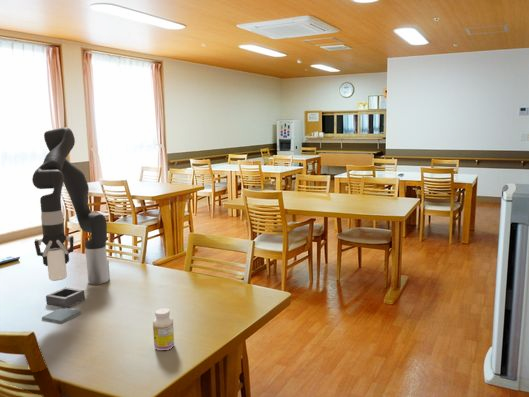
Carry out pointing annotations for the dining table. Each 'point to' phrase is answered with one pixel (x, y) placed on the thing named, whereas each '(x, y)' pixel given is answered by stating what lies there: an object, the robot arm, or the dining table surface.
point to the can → (56, 264)
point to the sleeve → (65, 297)
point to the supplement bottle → (163, 330)
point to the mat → (61, 315)
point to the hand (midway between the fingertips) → (56, 264)
